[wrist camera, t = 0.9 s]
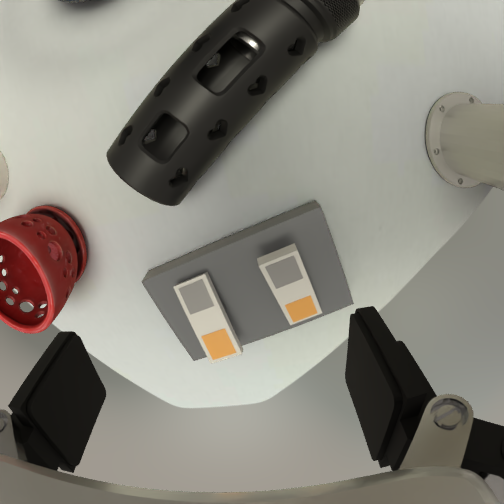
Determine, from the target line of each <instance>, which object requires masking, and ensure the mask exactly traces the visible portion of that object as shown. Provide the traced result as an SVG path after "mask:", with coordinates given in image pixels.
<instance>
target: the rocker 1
mask: <svg viewBox="0 0 504 504" xmlns="http://www.w3.org/2000/svg"><path fill="white" fill-rule="evenodd" d="M174 290H175V292H176V294H177V296H178V298H179V300H180V303H181V305H182V307H183V309H184V311H185V313H186V315H187V317H188V319H189V321H190V323H191V326H192V328H193V330H194V332H195V334H196V336H197V338H198V340H199V342H200V344H201V346H202V348H203V350H204V352H205V353H206V355H207V357H208V359H209V361H210V363H211V364H212V363H215V362H218V361H222V360H225V359H228V358H231V357H234V356H237V355H240V354H242V352H243V348H242V346H241V344H240V342H239V340H238V337H237V335H236V333H235V331H234V329H233V327H232V325H231V322H230V320H229V318H228V316H227V314H226V312H225V310H224V307H223V305H222V303H221V301H220V299H219V296H218V294H217V292H216V290H215V288H214V285H213V283H212V281H211V279H210V276H209V274H208V272H206V273H203V274H201V275H198V276H196V277H193V278H191V279H188V280H186V281H184V282H181V283H179V284H176V285H175V286H174Z"/></svg>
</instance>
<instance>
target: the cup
mask: <svg viewBox="0 0 504 504" xmlns="http://www.w3.org/2000/svg"><path fill="white" fill-rule="evenodd" d="M7 185H8V167H7V163H6V160H5V158H4V156H3V155H2V153H1V152H0V199H1V198H2V197H3V196H4V194H5V192H6V189H7Z"/></svg>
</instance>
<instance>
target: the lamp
mask: <svg viewBox="0 0 504 504" xmlns="http://www.w3.org/2000/svg"><path fill="white" fill-rule="evenodd" d="M60 1H63V2H69V3H72V2H76V3H78V2H80V1H82V2H85V1H86V0H60Z"/></svg>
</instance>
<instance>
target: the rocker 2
mask: <svg viewBox="0 0 504 504" xmlns="http://www.w3.org/2000/svg"><path fill="white" fill-rule="evenodd" d="M257 261H258V266H259V268H260V270H261V271H262V273H263V275H264V277H265V279H266V281H267V283H268V285H269V286H270V288H271V290H272V292H273V294H274V296H275V298H276V300H277V301H278V303H279V305H280V307H281V309H282V311H283V313H284V314H285V316H286V318H287V320H288V322H289V324H290V325H293V324H295V323H298V322H301V321H303V320H306V319H309V318H311V317H314V316H316V315H319V314H321V313H322V311H321V308H320V305H319V303H318V300H317V298H316V295H315V293H314V290H313V287H312V285H311V282H310V280H309V277H308V275H307V272H306V270H305V267H304V265H303V262H302V260H301V258H300V255H299V253H298V250H297V248H296V245H295V243H294V244H291V245H289V246H286V247H284V248H281V249H279V250H277V251H274V252H272V253H269V254H267V255H264V256H262V257H259V258H257Z"/></svg>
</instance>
